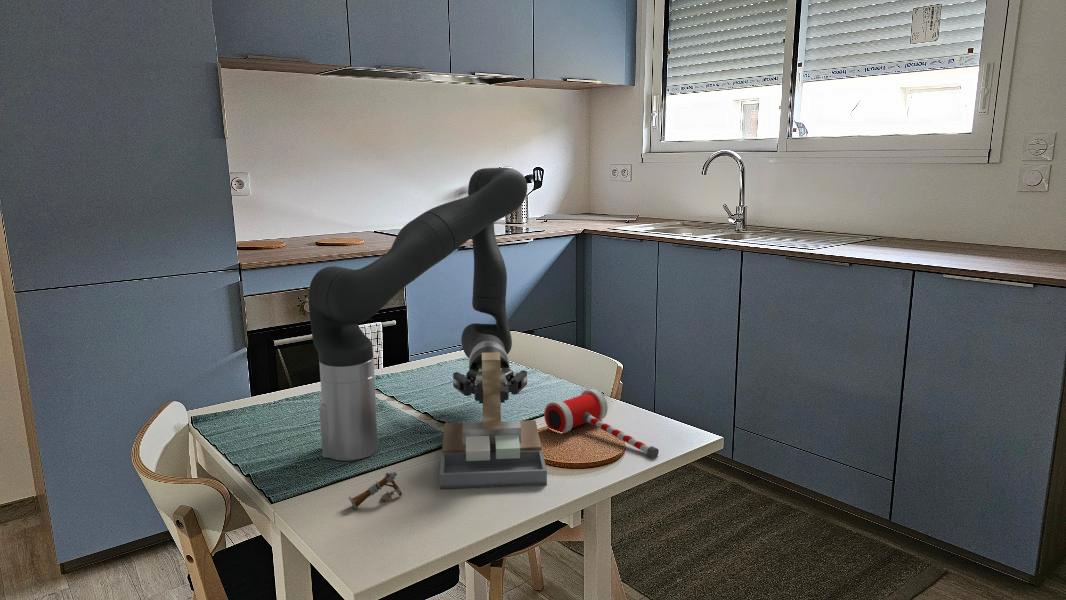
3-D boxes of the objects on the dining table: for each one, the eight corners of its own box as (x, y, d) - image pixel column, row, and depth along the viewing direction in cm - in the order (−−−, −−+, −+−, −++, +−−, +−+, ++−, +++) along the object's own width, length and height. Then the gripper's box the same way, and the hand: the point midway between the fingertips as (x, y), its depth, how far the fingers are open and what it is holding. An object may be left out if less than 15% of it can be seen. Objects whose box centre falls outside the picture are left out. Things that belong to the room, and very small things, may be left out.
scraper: (462, 446, 123) (460, 360, 117) (462, 437, 126) (460, 353, 120) (521, 443, 124) (521, 359, 118) (519, 435, 126) (520, 351, 121)
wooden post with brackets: (408, 492, 112) (396, 470, 110) (363, 523, 109) (350, 501, 107) (404, 487, 114) (392, 466, 112) (360, 518, 111) (347, 496, 109)
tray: (440, 489, 115) (439, 474, 114) (441, 466, 123) (441, 453, 122) (546, 484, 116) (546, 470, 116) (542, 463, 124) (542, 449, 123)
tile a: (466, 461, 120) (465, 451, 119) (466, 446, 123) (465, 436, 122) (490, 460, 120) (490, 450, 119) (489, 445, 123) (489, 435, 123)
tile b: (496, 459, 120) (496, 449, 119) (495, 445, 124) (495, 435, 123) (520, 458, 120) (520, 448, 119) (518, 444, 124) (518, 434, 123)
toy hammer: (676, 449, 130) (677, 416, 129) (634, 469, 123) (635, 434, 121) (584, 414, 147) (585, 384, 145) (543, 430, 139) (543, 399, 138)
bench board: (442, 466, 123) (442, 450, 122) (444, 438, 134) (444, 423, 134) (541, 463, 124) (541, 447, 123) (535, 435, 136) (535, 420, 135)
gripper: (451, 346, 134) (448, 377, 117) (526, 344, 135) (534, 375, 118) (452, 384, 135) (449, 420, 119) (526, 382, 137) (534, 417, 120)
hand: (492, 397), depth 118 cm, fingers closed on scraper, 3 cm apart
